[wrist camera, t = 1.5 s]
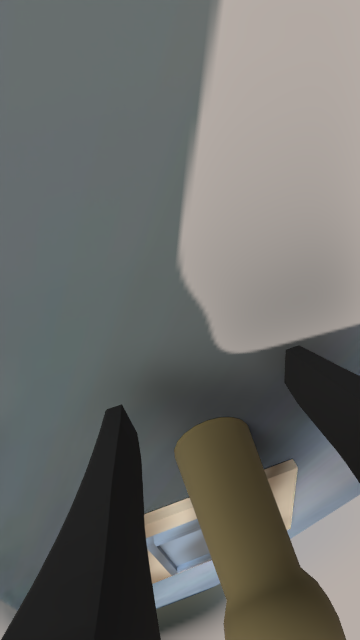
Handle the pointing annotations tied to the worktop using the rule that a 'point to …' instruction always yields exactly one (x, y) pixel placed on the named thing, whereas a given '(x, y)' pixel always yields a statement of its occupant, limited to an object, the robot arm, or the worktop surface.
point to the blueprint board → (186, 535)
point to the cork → (250, 539)
